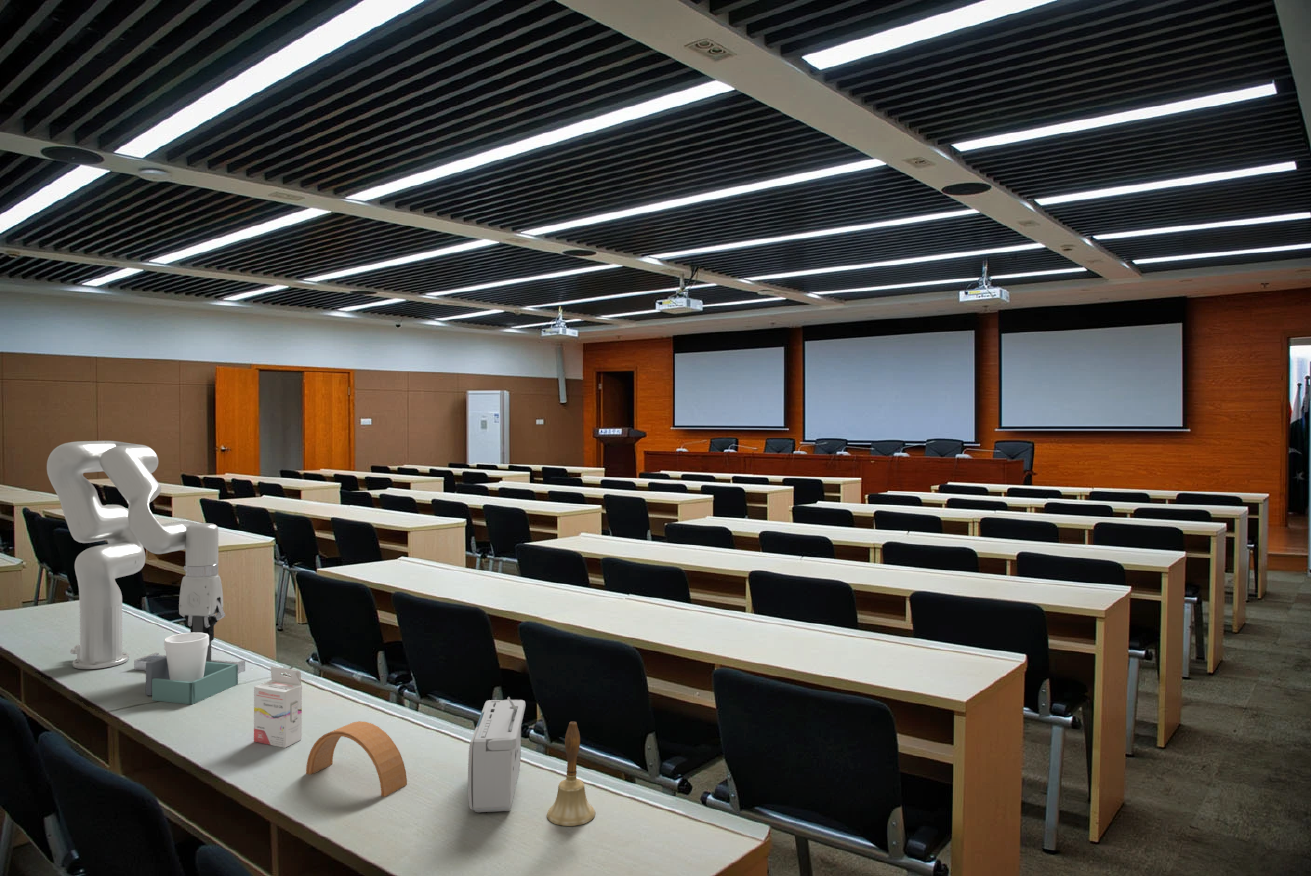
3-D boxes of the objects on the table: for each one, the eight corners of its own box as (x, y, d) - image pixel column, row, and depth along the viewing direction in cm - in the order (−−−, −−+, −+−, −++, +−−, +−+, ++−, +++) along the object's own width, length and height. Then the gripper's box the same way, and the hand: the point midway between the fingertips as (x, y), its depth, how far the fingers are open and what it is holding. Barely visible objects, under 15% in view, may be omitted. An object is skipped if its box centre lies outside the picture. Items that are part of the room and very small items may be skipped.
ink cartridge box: (252, 742, 171) (252, 672, 170) (270, 734, 175) (270, 665, 175) (285, 748, 168) (285, 677, 168) (303, 739, 173) (303, 670, 172)
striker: (134, 693, 198) (134, 623, 197) (201, 667, 219) (201, 604, 218) (151, 695, 197) (151, 625, 196) (216, 668, 218) (217, 605, 217)
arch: (383, 798, 147) (383, 742, 147) (305, 774, 157) (305, 722, 156) (407, 785, 153) (407, 731, 152) (330, 763, 162) (330, 712, 161)
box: (152, 700, 194) (152, 679, 194) (200, 680, 209) (200, 660, 209) (192, 704, 192) (192, 683, 192) (237, 684, 207) (237, 664, 207)
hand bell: (547, 804, 146) (549, 714, 145) (595, 803, 147) (596, 714, 146) (545, 827, 138) (546, 732, 137) (595, 826, 138) (596, 732, 138)
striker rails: (134, 669, 217) (134, 660, 217) (155, 661, 224) (155, 652, 224) (225, 678, 211) (225, 668, 211) (245, 670, 218) (245, 660, 218)
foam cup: (216, 684, 206) (216, 632, 206) (196, 697, 197) (196, 643, 197) (178, 683, 206) (178, 632, 206) (156, 696, 197) (156, 642, 197)
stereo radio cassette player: (483, 765, 162) (483, 663, 161) (525, 764, 162) (526, 663, 162) (466, 817, 141) (467, 701, 140) (515, 816, 141) (516, 700, 141)
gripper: (164, 571, 214) (164, 642, 214) (218, 575, 210) (218, 647, 211) (186, 566, 221) (186, 634, 222) (239, 570, 218) (239, 639, 218)
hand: (202, 640), depth 216 cm, fingers closed on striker, 3 cm apart
